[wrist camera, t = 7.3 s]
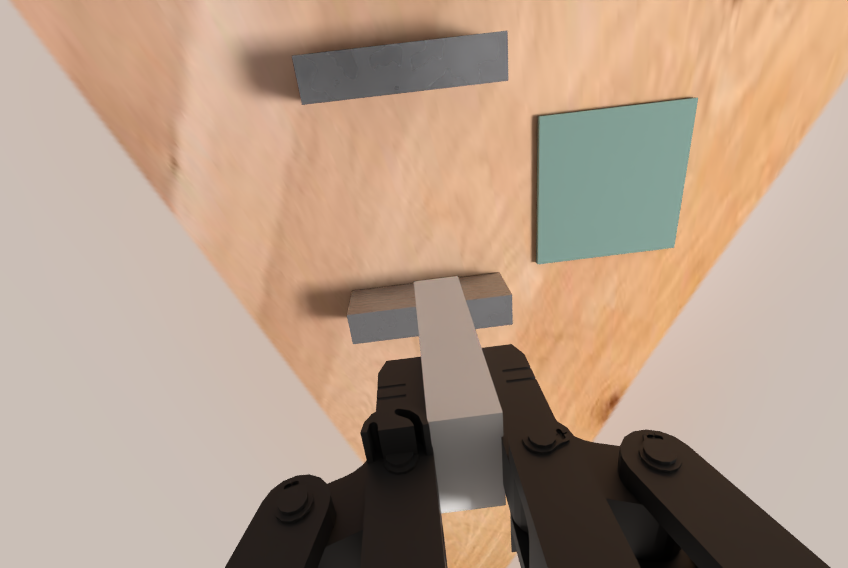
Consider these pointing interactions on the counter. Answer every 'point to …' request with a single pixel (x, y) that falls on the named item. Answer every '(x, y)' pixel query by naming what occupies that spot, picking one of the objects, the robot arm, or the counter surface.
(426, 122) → the counter surface
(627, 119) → the mat
